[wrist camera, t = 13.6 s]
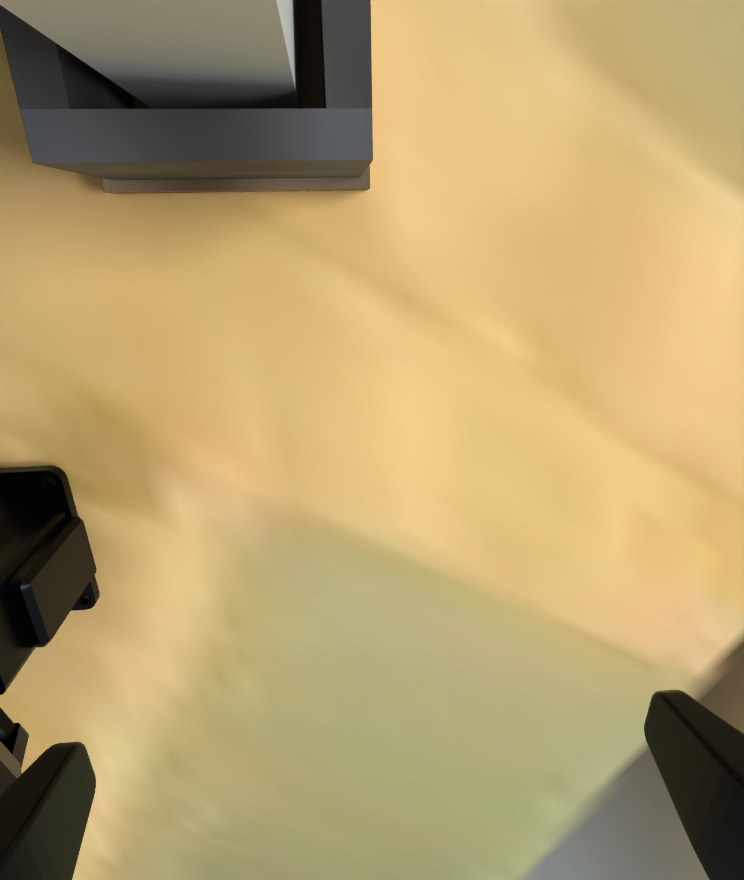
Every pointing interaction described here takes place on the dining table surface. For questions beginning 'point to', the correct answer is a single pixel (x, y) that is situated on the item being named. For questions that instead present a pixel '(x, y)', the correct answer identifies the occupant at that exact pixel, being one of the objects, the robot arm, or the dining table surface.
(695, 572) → the dining table surface
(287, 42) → the plug
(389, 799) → the dining table surface
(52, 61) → the socket deck
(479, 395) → the dining table surface
